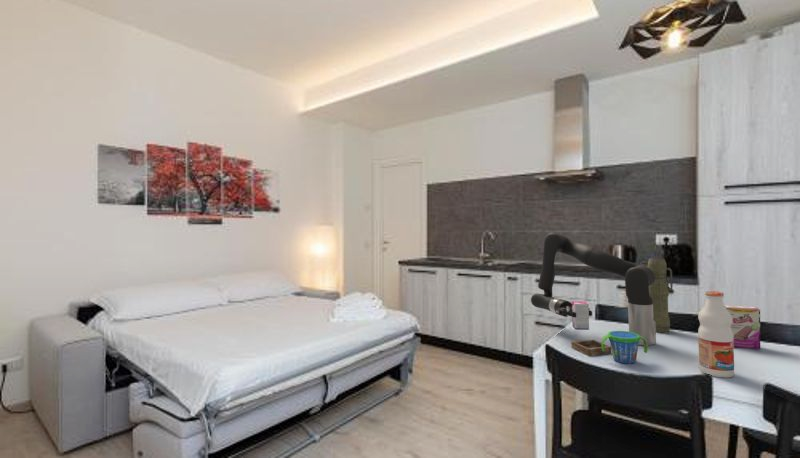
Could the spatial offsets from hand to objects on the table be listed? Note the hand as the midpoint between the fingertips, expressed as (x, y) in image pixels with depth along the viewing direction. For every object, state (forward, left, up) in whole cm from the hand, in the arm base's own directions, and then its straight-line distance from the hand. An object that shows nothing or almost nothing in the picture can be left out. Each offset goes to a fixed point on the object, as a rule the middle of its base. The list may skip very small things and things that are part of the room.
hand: (583, 314), depth 168 cm
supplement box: (0, -2, -7) cm, 7 cm away
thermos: (-46, -7, -13) cm, 48 cm away
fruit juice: (-21, +41, -13) cm, 48 cm away
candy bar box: (-57, +22, -13) cm, 62 cm away
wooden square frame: (+3, +8, -13) cm, 16 cm away
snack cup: (-1, +22, -13) cm, 26 cm away
